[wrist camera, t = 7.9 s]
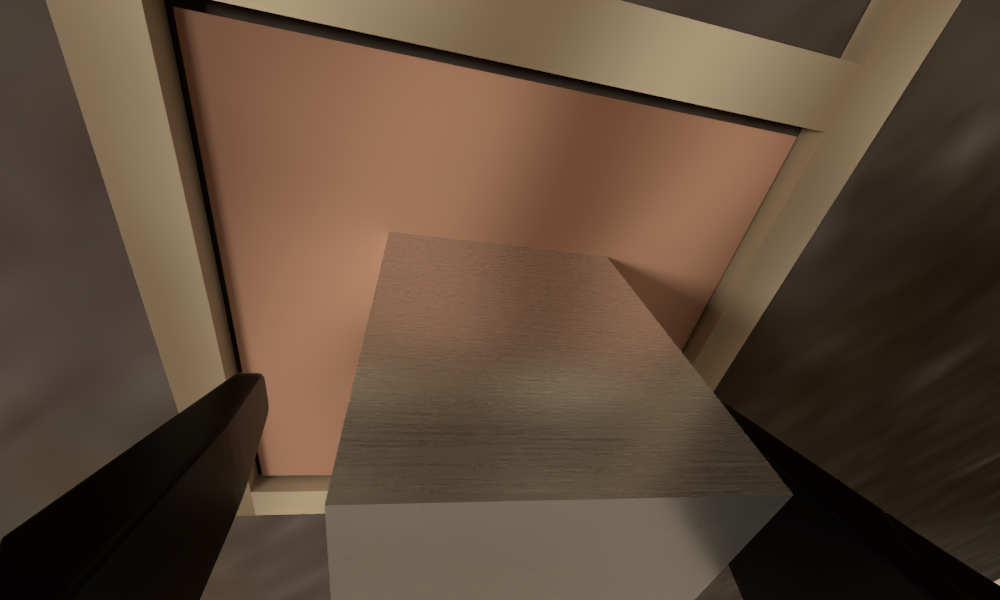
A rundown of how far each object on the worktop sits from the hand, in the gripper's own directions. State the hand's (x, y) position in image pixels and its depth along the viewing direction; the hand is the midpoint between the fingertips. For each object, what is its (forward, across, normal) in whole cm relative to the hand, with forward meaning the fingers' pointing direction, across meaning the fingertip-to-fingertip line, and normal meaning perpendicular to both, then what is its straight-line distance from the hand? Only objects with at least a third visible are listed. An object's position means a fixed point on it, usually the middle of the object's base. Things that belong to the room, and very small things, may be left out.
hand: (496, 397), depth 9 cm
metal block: (+2, 0, 0) cm, 2 cm away
